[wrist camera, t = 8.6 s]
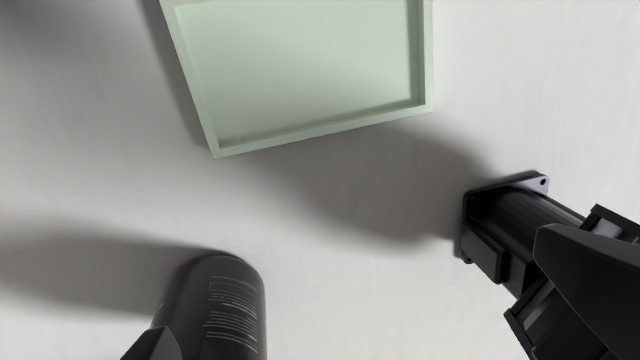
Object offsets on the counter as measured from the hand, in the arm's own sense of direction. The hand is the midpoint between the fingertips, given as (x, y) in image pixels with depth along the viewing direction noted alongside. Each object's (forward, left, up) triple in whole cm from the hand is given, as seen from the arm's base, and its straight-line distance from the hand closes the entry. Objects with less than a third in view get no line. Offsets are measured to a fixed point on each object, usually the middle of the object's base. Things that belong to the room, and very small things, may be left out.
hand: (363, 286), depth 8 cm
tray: (-1, -4, -13) cm, 14 cm away
